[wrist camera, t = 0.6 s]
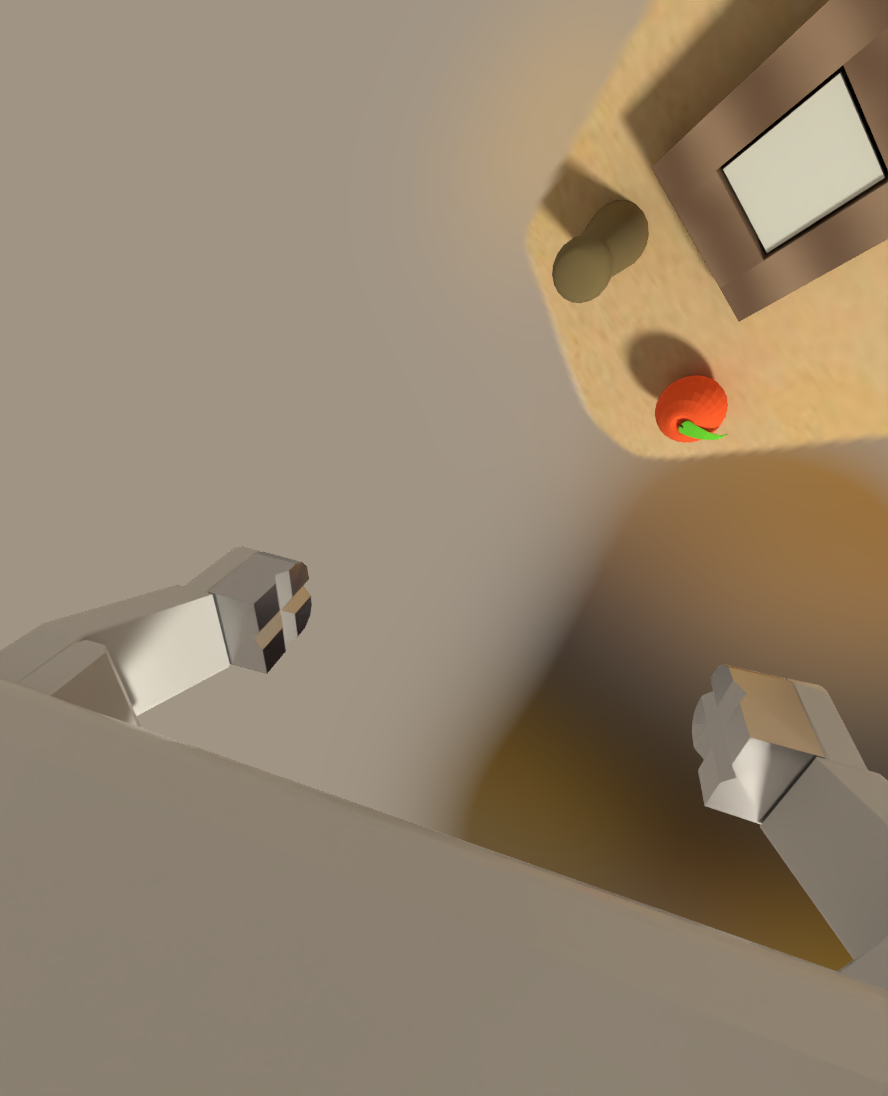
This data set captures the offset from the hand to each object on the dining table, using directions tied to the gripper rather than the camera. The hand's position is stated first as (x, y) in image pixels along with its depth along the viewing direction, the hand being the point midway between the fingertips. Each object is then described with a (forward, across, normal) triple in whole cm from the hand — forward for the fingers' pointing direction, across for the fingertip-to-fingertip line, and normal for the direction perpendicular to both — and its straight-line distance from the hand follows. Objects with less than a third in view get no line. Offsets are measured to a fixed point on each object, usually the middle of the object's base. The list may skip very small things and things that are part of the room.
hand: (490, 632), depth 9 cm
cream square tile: (+44, -13, -13) cm, 47 cm away
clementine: (+53, -14, +6) cm, 55 cm away
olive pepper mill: (+52, -1, -8) cm, 52 cm away
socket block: (+46, -14, -14) cm, 50 cm away
